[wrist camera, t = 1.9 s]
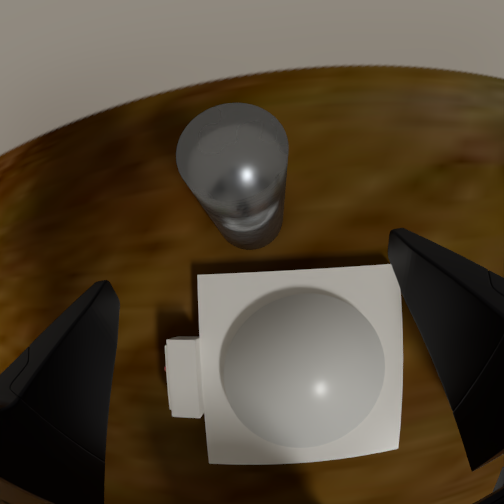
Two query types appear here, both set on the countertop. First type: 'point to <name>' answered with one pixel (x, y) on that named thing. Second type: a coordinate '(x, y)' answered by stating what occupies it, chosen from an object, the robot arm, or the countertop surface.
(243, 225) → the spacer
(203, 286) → the scale
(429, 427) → the countertop surface
